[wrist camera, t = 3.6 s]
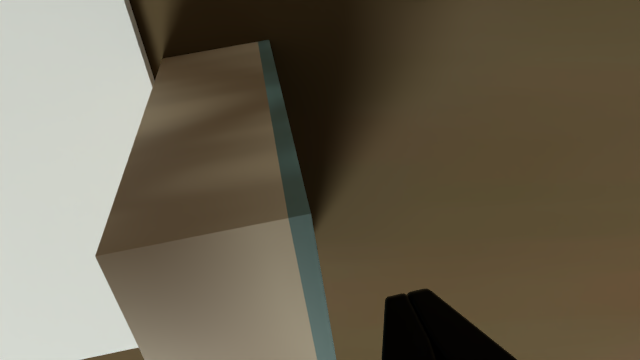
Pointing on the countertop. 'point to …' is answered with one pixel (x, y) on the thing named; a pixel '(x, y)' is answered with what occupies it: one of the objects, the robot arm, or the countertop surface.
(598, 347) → the countertop surface
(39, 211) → the flat white panel
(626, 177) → the countertop surface
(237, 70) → the beige and teal box
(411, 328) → the robot arm
